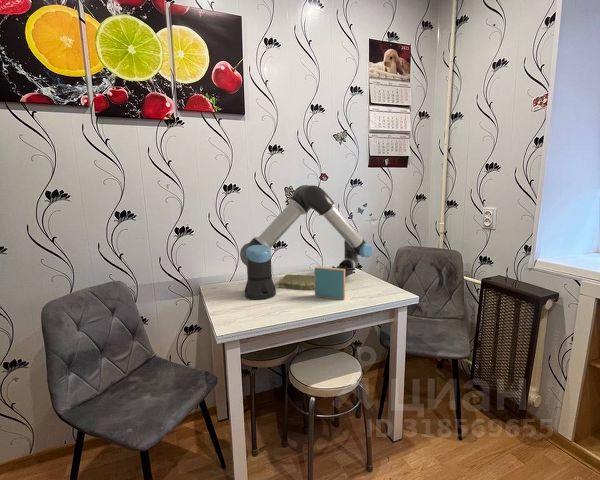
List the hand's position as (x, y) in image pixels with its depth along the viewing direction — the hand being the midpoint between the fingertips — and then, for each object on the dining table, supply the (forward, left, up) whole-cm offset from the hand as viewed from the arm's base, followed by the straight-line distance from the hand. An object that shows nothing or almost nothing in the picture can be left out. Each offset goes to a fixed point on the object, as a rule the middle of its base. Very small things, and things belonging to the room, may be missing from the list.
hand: (335, 278), depth 158 cm
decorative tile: (-21, +5, -8) cm, 23 cm away
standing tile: (0, -9, -7) cm, 11 cm away
